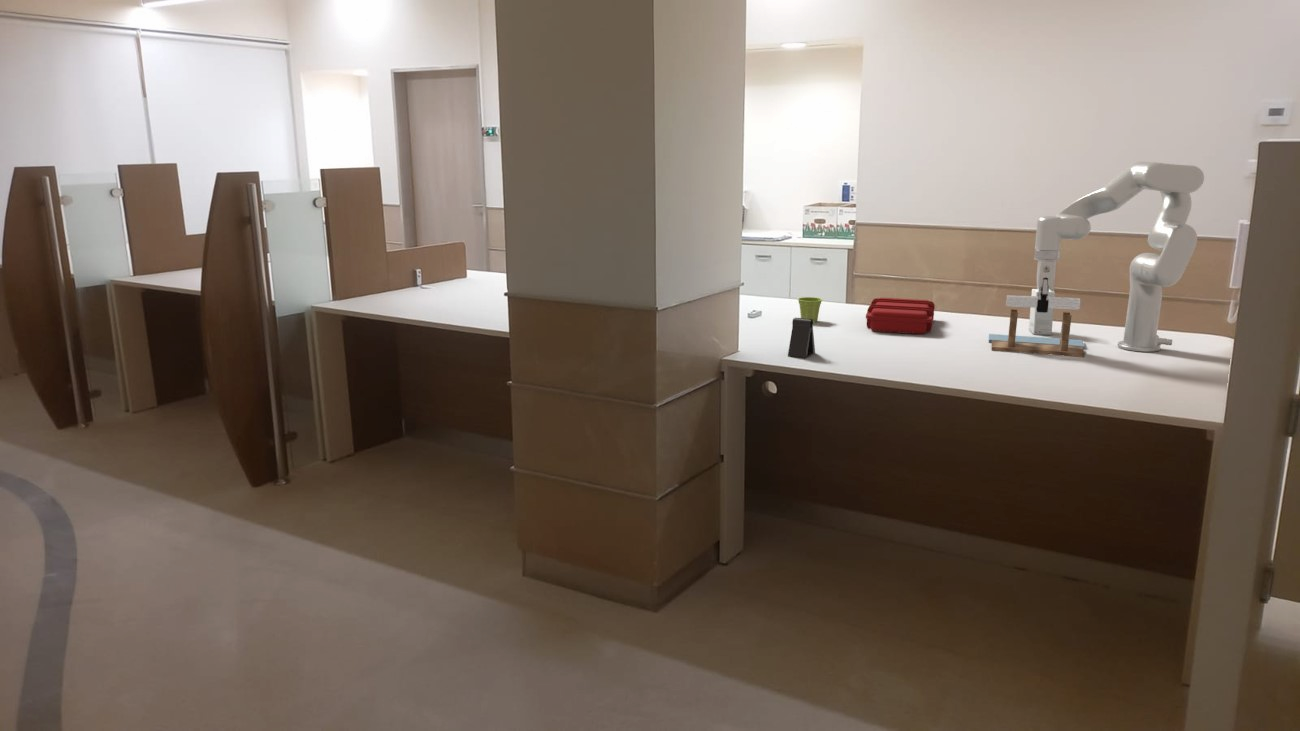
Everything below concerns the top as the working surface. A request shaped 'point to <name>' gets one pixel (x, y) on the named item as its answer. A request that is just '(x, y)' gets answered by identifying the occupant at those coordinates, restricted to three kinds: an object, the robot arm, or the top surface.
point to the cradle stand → (1039, 348)
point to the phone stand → (801, 338)
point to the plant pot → (809, 307)
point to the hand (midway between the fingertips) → (1041, 310)
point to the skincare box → (1041, 318)
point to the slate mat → (1035, 340)
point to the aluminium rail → (1053, 302)
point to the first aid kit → (900, 315)
